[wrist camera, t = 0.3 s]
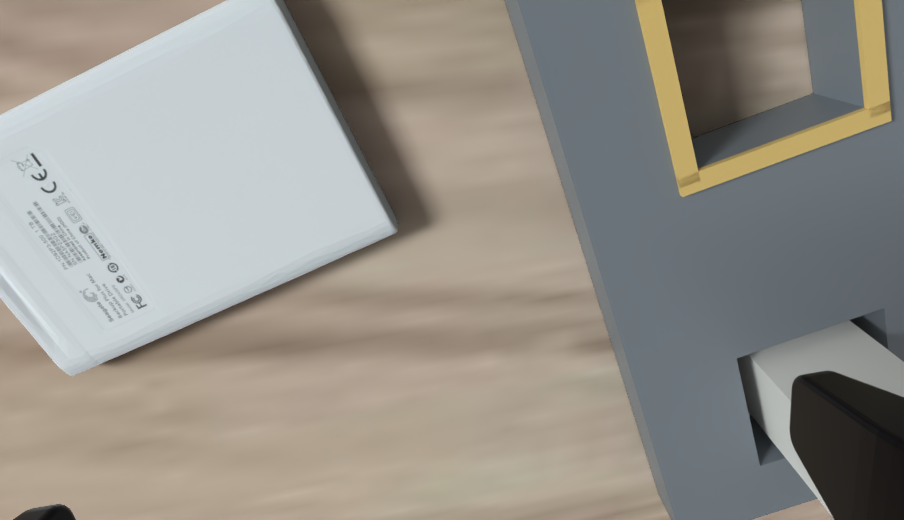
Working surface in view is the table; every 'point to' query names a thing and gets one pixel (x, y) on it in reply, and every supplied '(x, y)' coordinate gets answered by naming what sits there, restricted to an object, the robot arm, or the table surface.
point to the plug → (818, 351)
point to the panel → (723, 224)
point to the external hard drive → (177, 185)
